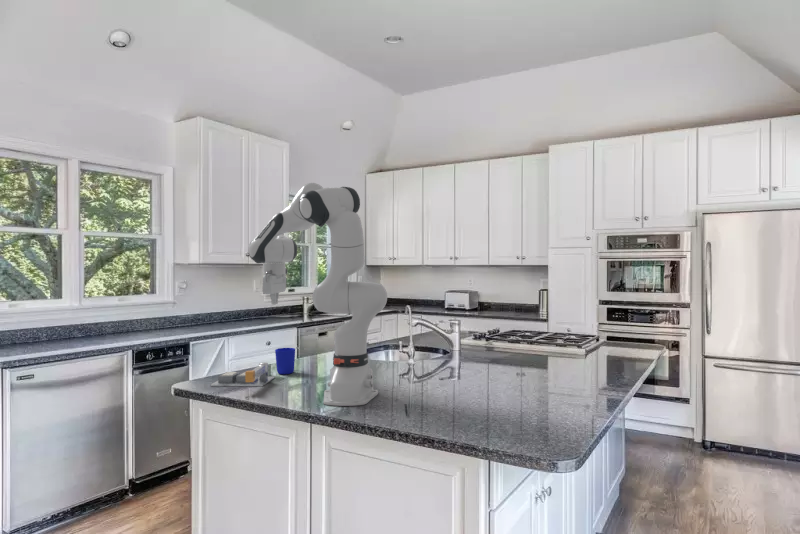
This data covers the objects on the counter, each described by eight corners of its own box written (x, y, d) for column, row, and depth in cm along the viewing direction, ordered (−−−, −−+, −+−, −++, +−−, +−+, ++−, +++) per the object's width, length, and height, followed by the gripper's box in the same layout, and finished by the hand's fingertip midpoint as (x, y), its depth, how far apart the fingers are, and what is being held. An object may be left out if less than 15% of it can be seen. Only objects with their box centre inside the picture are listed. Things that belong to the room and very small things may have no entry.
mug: (300, 369, 222) (300, 346, 222) (292, 375, 210) (291, 350, 210) (282, 369, 223) (281, 346, 223) (272, 375, 211) (272, 350, 211)
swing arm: (268, 370, 200) (268, 361, 200) (253, 382, 181) (253, 371, 181) (260, 370, 200) (260, 361, 200) (244, 382, 181) (244, 372, 181)
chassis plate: (262, 386, 192) (262, 376, 191) (210, 386, 193) (210, 376, 193) (274, 377, 205) (274, 368, 205) (225, 377, 207) (225, 368, 207)
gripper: (273, 270, 200) (274, 306, 200) (288, 270, 220) (289, 302, 220) (258, 270, 200) (258, 306, 200) (274, 270, 221) (274, 302, 221)
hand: (274, 304), depth 210 cm, fingers closed
